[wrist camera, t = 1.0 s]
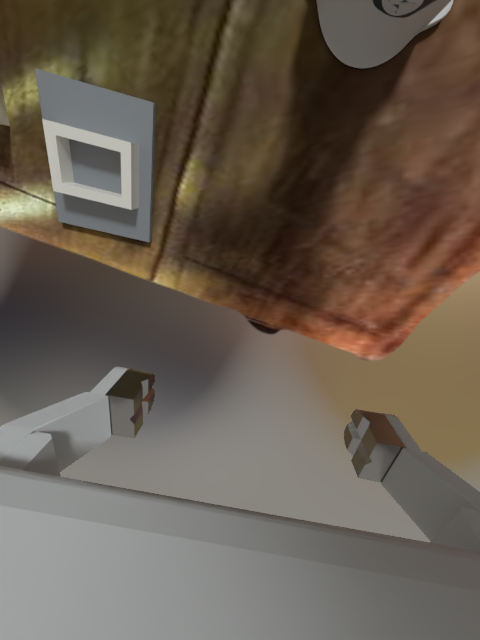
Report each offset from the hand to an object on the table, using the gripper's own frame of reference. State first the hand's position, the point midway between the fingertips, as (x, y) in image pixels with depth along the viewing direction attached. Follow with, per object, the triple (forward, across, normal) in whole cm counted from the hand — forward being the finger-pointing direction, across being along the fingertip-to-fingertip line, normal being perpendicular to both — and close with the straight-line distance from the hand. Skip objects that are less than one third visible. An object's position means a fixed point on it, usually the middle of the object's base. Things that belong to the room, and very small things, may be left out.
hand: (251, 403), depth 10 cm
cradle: (+36, +28, -11) cm, 47 cm away
